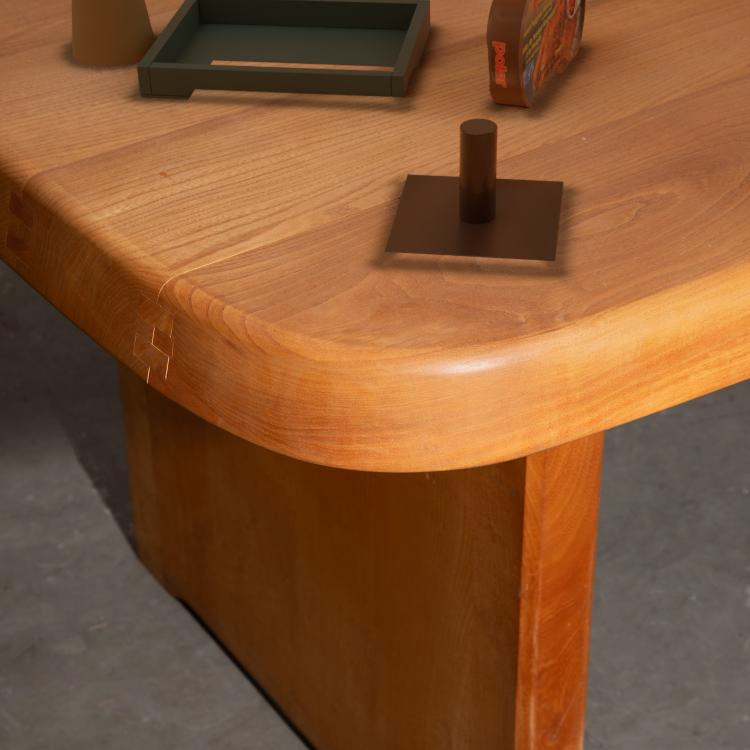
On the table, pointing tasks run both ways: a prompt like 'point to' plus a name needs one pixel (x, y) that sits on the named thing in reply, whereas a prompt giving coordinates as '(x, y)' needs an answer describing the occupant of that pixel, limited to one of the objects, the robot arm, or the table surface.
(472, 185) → the stand
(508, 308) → the table surface
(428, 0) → the tray
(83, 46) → the cork
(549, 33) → the tin
